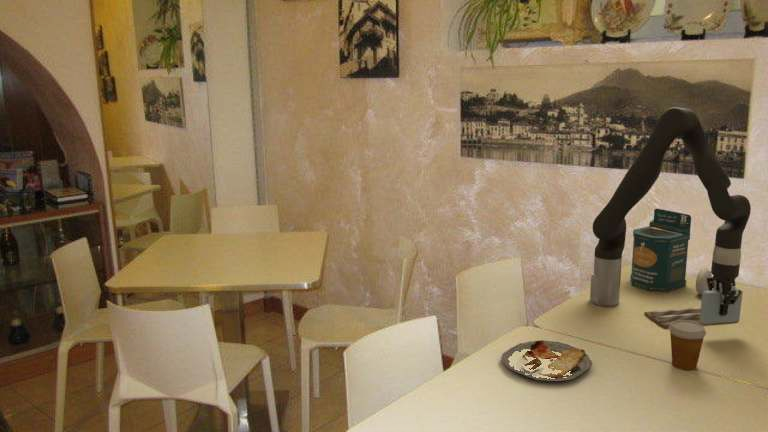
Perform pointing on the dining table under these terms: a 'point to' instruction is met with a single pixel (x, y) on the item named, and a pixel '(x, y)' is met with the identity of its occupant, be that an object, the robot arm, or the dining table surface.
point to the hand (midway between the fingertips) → (720, 313)
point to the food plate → (566, 362)
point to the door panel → (718, 308)
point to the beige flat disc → (703, 280)
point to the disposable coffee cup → (686, 343)
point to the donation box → (661, 252)
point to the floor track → (675, 316)
